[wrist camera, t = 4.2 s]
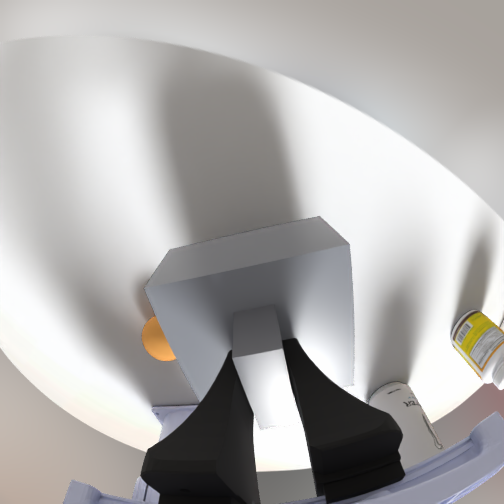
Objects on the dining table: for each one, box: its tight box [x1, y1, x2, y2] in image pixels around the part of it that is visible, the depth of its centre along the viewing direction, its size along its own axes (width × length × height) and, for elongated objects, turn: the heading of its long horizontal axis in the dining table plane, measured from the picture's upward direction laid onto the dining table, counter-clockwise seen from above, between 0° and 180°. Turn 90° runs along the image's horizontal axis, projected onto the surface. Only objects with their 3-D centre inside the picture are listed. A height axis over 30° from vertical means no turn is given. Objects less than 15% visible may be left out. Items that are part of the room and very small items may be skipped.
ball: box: [142, 316, 176, 361], centre depth 22 cm, size 4×4×4 cm
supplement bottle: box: [451, 310, 504, 390], centre depth 21 cm, size 6×6×10 cm
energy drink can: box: [368, 382, 445, 469], centre depth 21 cm, size 6×6×15 cm
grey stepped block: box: [144, 216, 354, 429], centre depth 14 cm, size 9×9×8 cm
